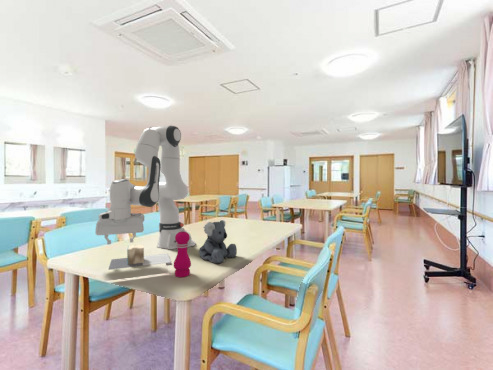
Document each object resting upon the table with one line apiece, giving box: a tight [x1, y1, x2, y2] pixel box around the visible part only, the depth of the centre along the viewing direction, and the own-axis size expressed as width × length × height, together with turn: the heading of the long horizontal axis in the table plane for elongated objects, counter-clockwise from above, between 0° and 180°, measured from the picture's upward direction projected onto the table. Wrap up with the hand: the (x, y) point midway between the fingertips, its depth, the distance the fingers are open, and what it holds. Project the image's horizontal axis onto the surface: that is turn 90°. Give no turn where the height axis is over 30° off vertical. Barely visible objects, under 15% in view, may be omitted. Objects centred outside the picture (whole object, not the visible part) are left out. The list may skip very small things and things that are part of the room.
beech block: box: [126, 244, 145, 264], centre depth 122 cm, size 7×7×7 cm
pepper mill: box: [173, 227, 192, 278], centre depth 108 cm, size 7×7×20 cm
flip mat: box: [108, 253, 172, 270], centre depth 123 cm, size 26×15×1 cm, turn 113°
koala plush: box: [198, 219, 237, 264], centre depth 132 cm, size 17×18×20 cm
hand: (120, 243), depth 119 cm, fingers open, 8 cm apart
